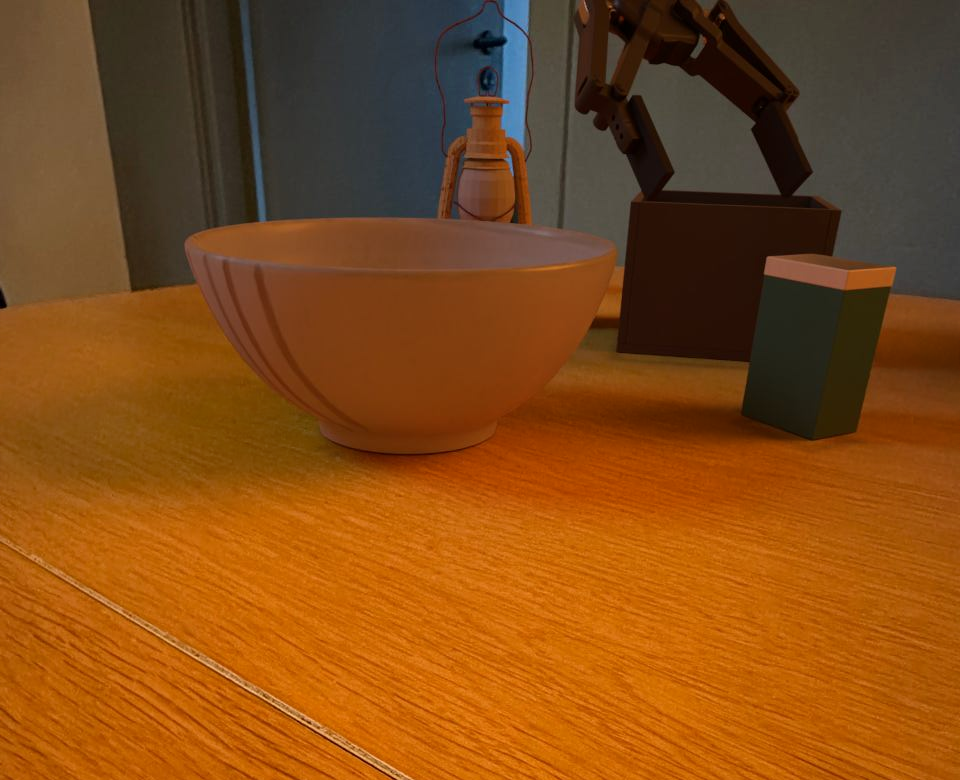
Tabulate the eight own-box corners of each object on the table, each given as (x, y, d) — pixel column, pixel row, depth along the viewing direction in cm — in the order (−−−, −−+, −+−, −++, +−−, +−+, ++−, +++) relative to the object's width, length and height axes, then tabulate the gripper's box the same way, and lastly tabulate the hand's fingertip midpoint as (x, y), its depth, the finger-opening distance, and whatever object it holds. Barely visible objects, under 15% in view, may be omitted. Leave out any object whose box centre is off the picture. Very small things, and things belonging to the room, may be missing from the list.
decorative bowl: (137, 478, 53) (97, 256, 47) (285, 369, 76) (272, 211, 69) (594, 512, 50) (616, 280, 44) (604, 388, 73) (620, 225, 67)
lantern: (437, 296, 108) (436, -9, 93) (433, 283, 117) (432, 2, 102) (535, 297, 109) (550, -4, 94) (524, 284, 118) (537, 6, 103)
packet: (783, 406, 69) (813, 253, 64) (857, 432, 64) (897, 267, 58) (739, 414, 67) (766, 256, 62) (812, 440, 62) (849, 270, 56)
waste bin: (793, 328, 96) (818, 195, 90) (810, 365, 81) (842, 210, 75) (629, 317, 99) (642, 189, 93) (616, 352, 84) (630, 201, 78)
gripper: (719, 12, 78) (815, 217, 75) (471, -13, 68) (569, 226, 64) (776, -73, 72) (884, 148, 68) (511, -116, 61) (623, 144, 57)
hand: (732, 186), depth 66 cm, fingers open, 13 cm apart
